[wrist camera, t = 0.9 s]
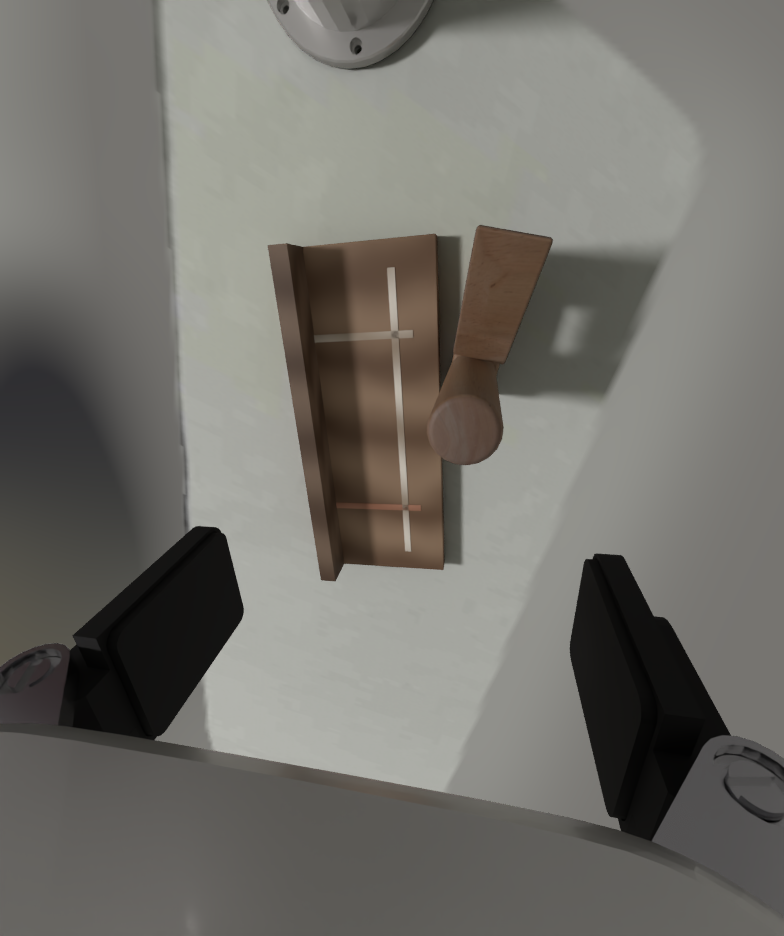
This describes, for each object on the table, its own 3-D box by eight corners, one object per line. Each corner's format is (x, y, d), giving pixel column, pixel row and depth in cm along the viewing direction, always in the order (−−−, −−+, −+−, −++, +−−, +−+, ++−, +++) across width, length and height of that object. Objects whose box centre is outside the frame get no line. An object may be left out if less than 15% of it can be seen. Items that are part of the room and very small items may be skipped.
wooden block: (526, 256, 32) (570, 225, 16) (488, 393, 36) (492, 479, 20) (478, 248, 32) (473, 209, 16) (447, 384, 37) (418, 461, 21)
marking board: (292, 250, 35) (267, 245, 31) (437, 235, 32) (430, 228, 28) (335, 554, 46) (321, 580, 42) (444, 561, 44) (440, 589, 40)
